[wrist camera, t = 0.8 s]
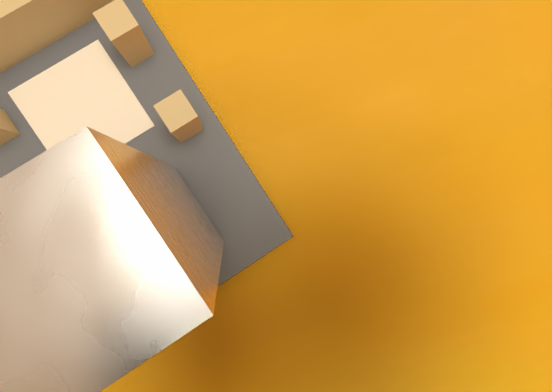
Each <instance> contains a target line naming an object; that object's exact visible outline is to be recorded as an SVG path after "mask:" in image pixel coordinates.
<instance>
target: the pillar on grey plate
mask: <svg viewBox="0 0 552 392" xmlns="http://www.w3.org/2000/svg"><path fill="white" fill-rule="evenodd" d="M223 246H224V241H223V239H222V238H221V236H220V235H219V233H218V232H217V230H216V229H215V227H214V226H213V224H212V222H211V221H210V219H209V218H208V216H207V215H206V213H205V212H204V210H203V209H202V207H201V206H200V204H199V203H198V201H197V200H196V198H195V197H194V195H193V194H192V192H191V191H190V189H189V188H188V186H187V185H186V183H185V182H184V180H183V179H182V177H181V175H180V174H179V172H178V171H177V169H176V168H175V167H174V166H171V165H169V164H167V163H165V162H163V161H161V160H158V159H156V158H154V157H152V156H150V155H148V154H145V153H143V152H141V151H139V150H137V149H135V148H133V147H130V146H128V145H126V144H124V143H122V142H120V141H117V140H115V139H113V138H111V137H109V136H107V135H104V134H102V133H100V132H98V131H96V130H94V129H91V128H89V127H87V126H86V127H84V128H83V129H81V130H79V131H78V132H76V133H74V134H73V135H71V136H69V137H68V138H66V139H65V140H63V141H61V142H60V143H58V144H56V145H55V146H53V147H51V148H50V149H48V150H46V151H45V152H43V153H41V154H40V155H38V156H36V157H35V158H33V159H31V160H30V161H28V162H26V163H25V164H23V165H22V166H20V167H18V168H17V169H15V170H13V171H12V172H10V173H8V174H7V175H5V176H3V177H2V178H0V392H100V391H102V390H103V389H105V388H106V387H108V386H109V385H111V384H112V383H114V382H115V381H117V380H118V379H120V378H121V377H123V376H124V375H126V374H127V373H129V372H130V371H132V370H133V369H134V368H136V367H137V366H139V365H140V364H142V363H143V362H145V361H146V360H148V359H149V358H151V357H152V356H154V355H155V354H157V353H158V352H160V351H161V350H163V349H164V348H166V347H167V346H169V345H170V344H172V343H173V342H175V341H176V340H178V339H179V338H181V337H182V336H184V335H185V334H187V333H188V332H190V331H191V330H193V329H194V328H195V327H197V326H198V325H200V324H201V323H203V322H204V321H206V320H207V319H209V318H210V317H212V316H213V315H214V308H215V301H216V295H217V288H218V281H219V274H220V267H221V260H222V253H223Z"/></svg>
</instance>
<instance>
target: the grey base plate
mask: <svg viewBox="0 0 552 392" xmlns="http://www.w3.org/2000/svg"><path fill="white" fill-rule="evenodd" d="M86 126H87V127H89V128H91V129H94V130H96V131H98V132H100V133H102V134H104V135H107V136H109V137H111V138H113V139H115V140H117V141H120V142H122V143H124V144H126V145H128V146H130V147H133V148H135V149H137V150H139V151H141V152H143V153H145V154H148V155H150V156H152V157H154V158H156V159H158V160H161V161H163V162H165V163H167V164H169V165H171V166H174V167H175V168H176V169H177V171H178V172H179V174H180V175H181V177H182V179H183V180H184V182H185V183H186V185H187V186H188V188H189V189H190V191H191V192H192V194H193V195H194V197H195V198H196V200H197V201H198V203H199V204H200V206H201V207H202V209H203V210H204V212H205V213H206V215H207V216H208V218H209V219H210V221H211V222H212V224H213V226H214V227H215V229H216V230H217V232H218V233H219V235H220V236H221V238H222V239H223V241H224V246H223V253H222V260H221V267H220V274H219V281H218V286H219V285H221V284H222V283H224V282H225V281H227V280H228V279H230V278H231V277H233V276H234V275H236V274H237V273H239V272H240V271H242V270H243V269H245V268H246V267H248V266H249V265H251V264H252V263H254V262H255V261H257V260H258V259H260V258H261V257H263V256H264V255H266V254H267V253H269V252H270V251H272V250H273V249H275V248H276V247H278V246H279V245H281V244H282V243H284V242H285V241H287V240H288V239H290V238H291V237H293V235H292V233H291V232H290V230H289V229H288V227H287V225H286V224H285V222H284V221H283V219H282V218H281V216H280V215H279V213H278V211H277V210H276V208H275V207H274V205H273V204H272V202H271V201H270V199H269V198H268V196H267V194H266V193H265V191H264V190H263V188H262V187H261V185H260V184H259V182H258V180H257V179H256V177H255V176H254V174H253V173H252V171H251V170H250V168H249V167H248V165H247V163H246V162H245V160H244V159H243V157H242V156H241V154H240V153H239V151H238V150H237V148H236V146H235V145H234V143H233V142H232V140H231V139H230V137H229V136H228V134H227V132H226V131H225V129H224V128H223V126H222V125H221V123H220V122H219V120H218V119H217V117H216V115H215V114H214V112H213V111H212V109H211V108H210V106H209V105H208V103H207V101H206V100H205V98H204V97H203V95H202V94H201V92H200V91H199V89H198V88H197V86H196V84H195V83H194V81H193V80H192V78H191V77H190V75H189V74H188V72H187V70H186V69H185V67H184V66H183V64H182V63H181V61H180V60H179V58H178V57H177V55H176V53H175V52H174V50H173V49H172V47H171V46H170V44H169V43H168V41H167V39H166V38H165V36H164V35H163V33H162V32H161V30H160V29H159V27H158V26H157V24H156V22H155V21H154V19H153V18H152V16H151V15H150V13H149V12H148V10H147V9H146V7H145V5H144V4H143V2H142V1H141V0H0V178H2V177H3V176H5V175H7V174H8V173H10V172H12V171H13V170H15V169H17V168H18V167H20V166H22V165H23V164H25V163H26V162H28V161H30V160H31V159H33V158H35V157H36V156H38V155H40V154H41V153H43V152H45V151H46V150H48V149H50V148H51V147H53V146H55V145H56V144H58V143H60V142H61V141H63V140H65V139H66V138H68V137H69V136H71V135H73V134H74V133H76V132H78V131H79V130H81V129H83V128H84V127H86Z"/></svg>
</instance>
